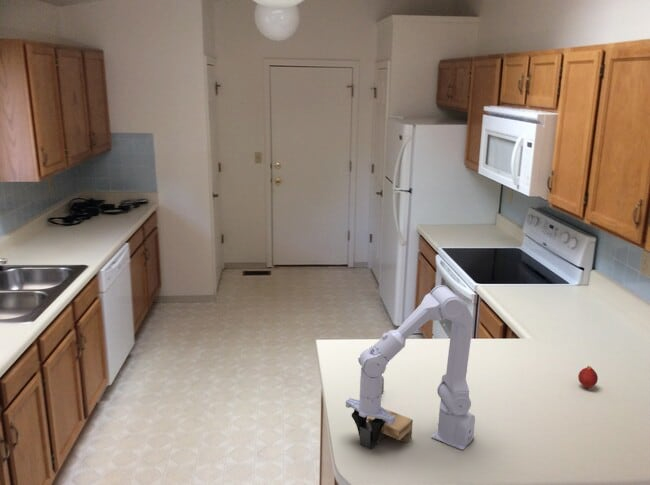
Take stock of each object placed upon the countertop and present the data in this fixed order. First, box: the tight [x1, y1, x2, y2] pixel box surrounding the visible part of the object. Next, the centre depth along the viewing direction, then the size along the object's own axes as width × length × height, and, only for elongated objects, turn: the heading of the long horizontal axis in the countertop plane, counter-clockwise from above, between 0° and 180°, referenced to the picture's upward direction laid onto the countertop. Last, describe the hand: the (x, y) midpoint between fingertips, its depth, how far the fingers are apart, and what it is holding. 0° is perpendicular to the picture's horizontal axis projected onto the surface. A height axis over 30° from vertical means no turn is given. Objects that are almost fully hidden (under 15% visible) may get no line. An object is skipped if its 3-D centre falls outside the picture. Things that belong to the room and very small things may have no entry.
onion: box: [577, 365, 599, 389], centre depth 190 cm, size 6×6×8 cm
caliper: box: [366, 375, 385, 422], centre depth 177 cm, size 20×1×6 cm, turn 162°
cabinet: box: [368, 407, 414, 444], centre depth 161 cm, size 10×7×6 cm
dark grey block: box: [359, 421, 387, 450], centre depth 160 cm, size 8×4×6 cm, turn 140°
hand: (368, 437), depth 158 cm, fingers closed on dark grey block, 4 cm apart
